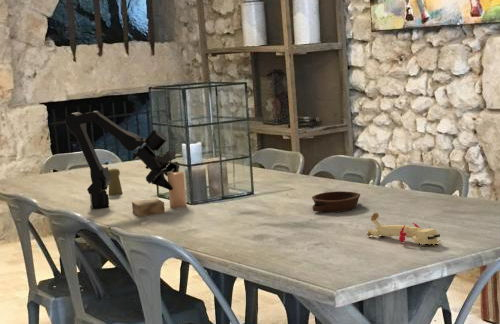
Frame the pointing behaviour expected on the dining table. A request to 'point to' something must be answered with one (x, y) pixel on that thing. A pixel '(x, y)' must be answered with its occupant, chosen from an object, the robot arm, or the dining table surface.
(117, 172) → the olive chess pawn
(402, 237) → the cat figure
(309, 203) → the dining table surface
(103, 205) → the robot arm
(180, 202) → the salmon pink block
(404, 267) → the dining table surface
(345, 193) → the dish
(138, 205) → the walnut riser
